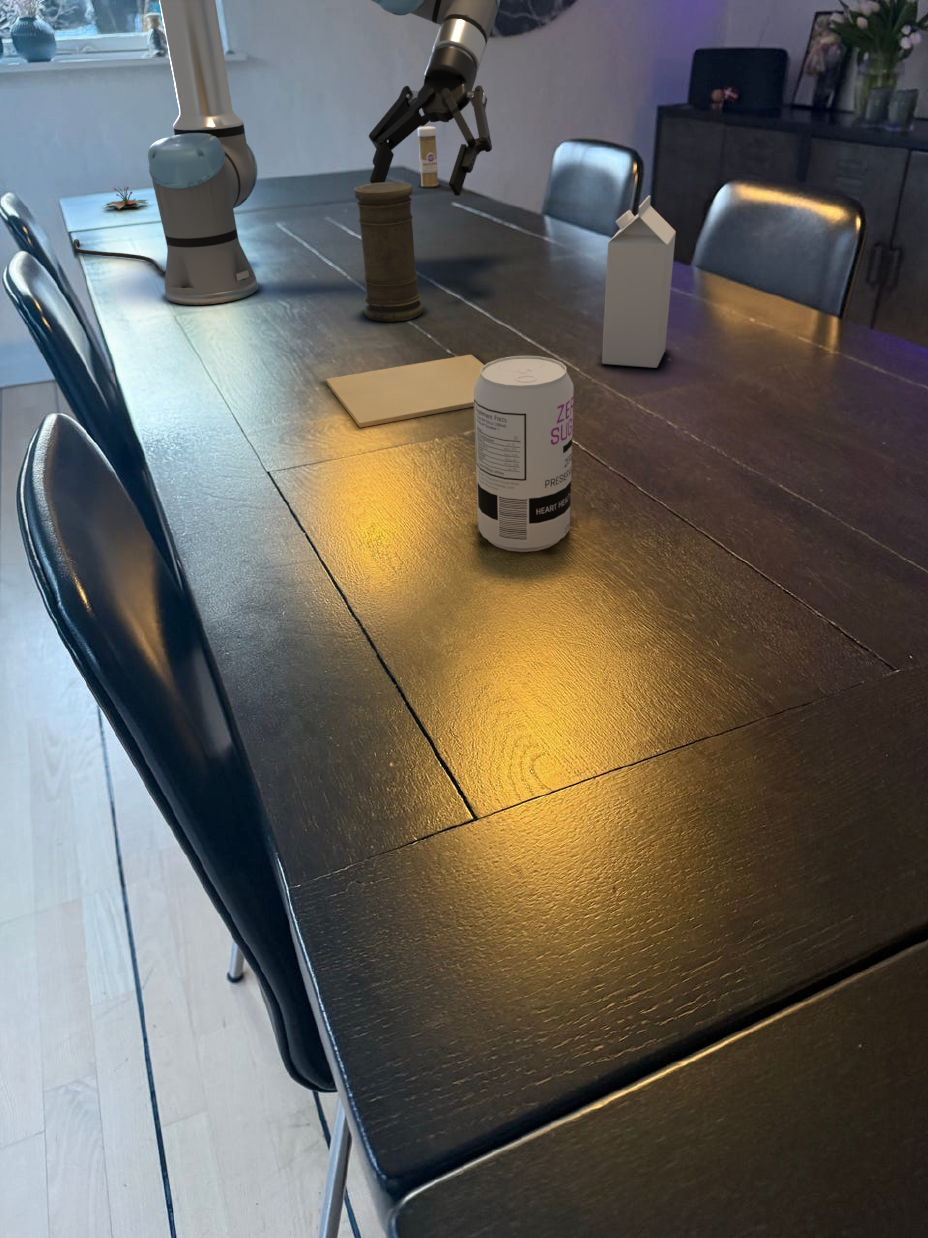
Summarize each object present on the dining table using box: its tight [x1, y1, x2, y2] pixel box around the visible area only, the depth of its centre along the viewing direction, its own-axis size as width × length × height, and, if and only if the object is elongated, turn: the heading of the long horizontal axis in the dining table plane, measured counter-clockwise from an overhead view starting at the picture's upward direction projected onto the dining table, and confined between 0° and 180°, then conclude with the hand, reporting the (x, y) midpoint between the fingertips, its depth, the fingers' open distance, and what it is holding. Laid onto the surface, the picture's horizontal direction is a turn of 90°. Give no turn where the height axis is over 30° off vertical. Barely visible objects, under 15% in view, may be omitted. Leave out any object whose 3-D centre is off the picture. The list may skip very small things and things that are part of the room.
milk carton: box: [601, 195, 677, 369], centre depth 112 cm, size 7×7×19 cm
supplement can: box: [473, 355, 575, 553], centre depth 77 cm, size 8×8×15 cm
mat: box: [325, 354, 485, 429], centre depth 111 cm, size 16×20×1 cm
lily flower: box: [102, 186, 148, 210], centre depth 222 cm, size 12×12×5 cm
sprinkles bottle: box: [417, 125, 439, 189], centre depth 226 cm, size 5×5×13 cm
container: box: [353, 181, 424, 323], centre depth 133 cm, size 9×9×18 cm
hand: (414, 188), depth 135 cm, fingers open, 13 cm apart
